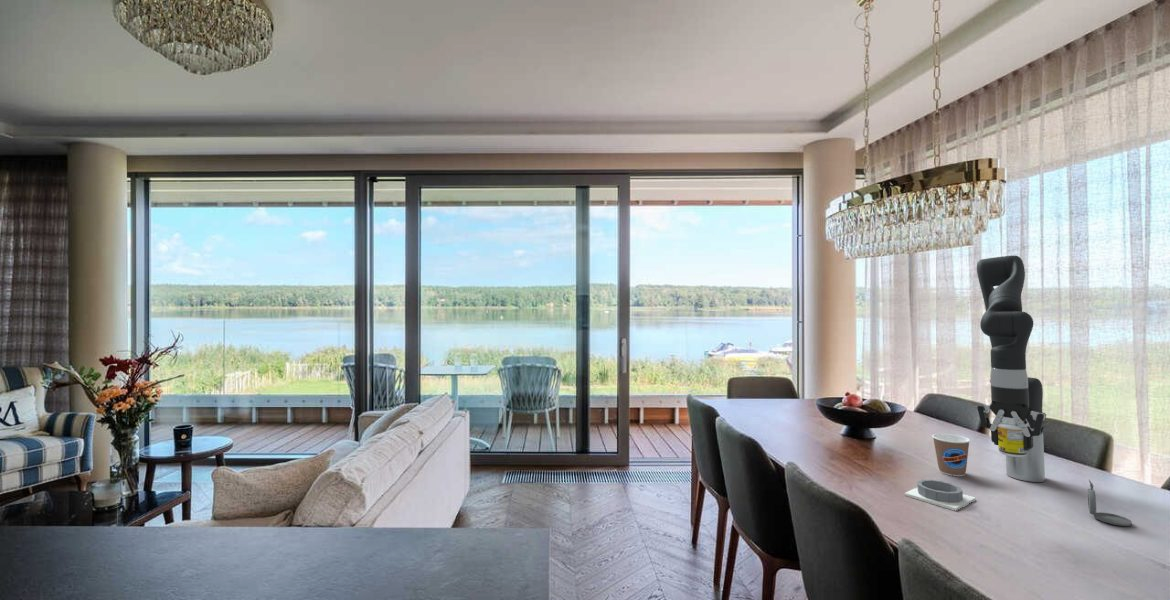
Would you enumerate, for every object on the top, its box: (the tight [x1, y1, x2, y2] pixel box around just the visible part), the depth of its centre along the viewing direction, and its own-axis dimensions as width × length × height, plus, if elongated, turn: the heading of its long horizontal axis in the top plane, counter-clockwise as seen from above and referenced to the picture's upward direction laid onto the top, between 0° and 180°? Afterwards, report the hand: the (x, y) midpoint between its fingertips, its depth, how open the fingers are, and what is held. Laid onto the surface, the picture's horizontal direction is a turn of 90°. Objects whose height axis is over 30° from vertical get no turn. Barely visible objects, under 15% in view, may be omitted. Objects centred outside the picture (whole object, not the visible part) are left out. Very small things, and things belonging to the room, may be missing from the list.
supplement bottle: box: [997, 417, 1026, 457], centre depth 124 cm, size 6×6×10 cm
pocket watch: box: [1087, 479, 1133, 527], centre depth 122 cm, size 8×8×10 cm
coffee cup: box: [931, 433, 971, 477], centre depth 158 cm, size 10×10×12 cm
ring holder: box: [904, 479, 977, 512], centre depth 138 cm, size 13×13×4 cm
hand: (1011, 446), depth 124 cm, fingers closed on supplement bottle, 5 cm apart
